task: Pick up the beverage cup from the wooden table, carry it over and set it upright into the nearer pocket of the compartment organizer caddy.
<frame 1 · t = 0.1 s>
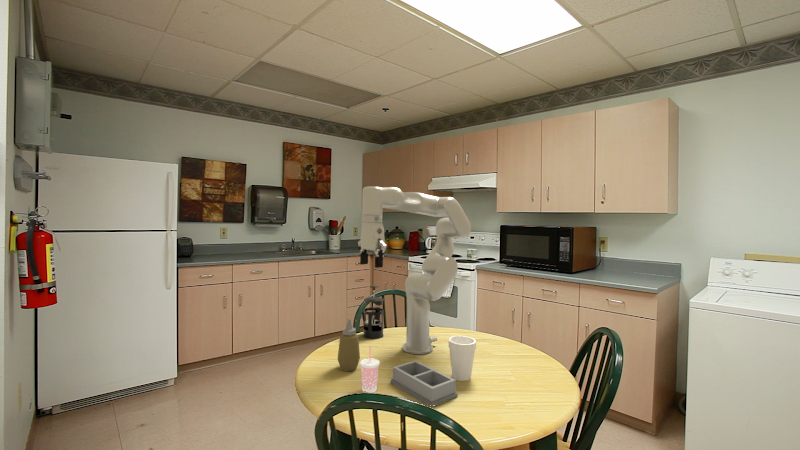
hand: (371, 265, 142), 37 cm above the table, tool pointing down, fingers open, 9 cm apart
squeeze bottle: (348, 368, 138), on the table
beverage cup: (369, 390, 122), on the table
compartment organizer caddy: (422, 389, 122), on the table
french press: (373, 335, 175), on the table
foam cup: (461, 377, 132), on the table
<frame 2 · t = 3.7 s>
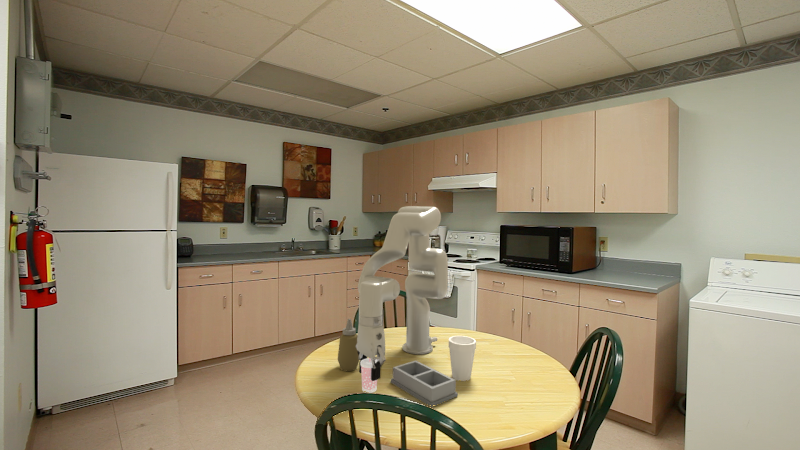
hand: (369, 375, 121), 5 cm above the table, tool pointing down, fingers closed on beverage cup, 6 cm apart
beverage cup: (369, 390, 122), on the table, touching gripper
everything else where it was.
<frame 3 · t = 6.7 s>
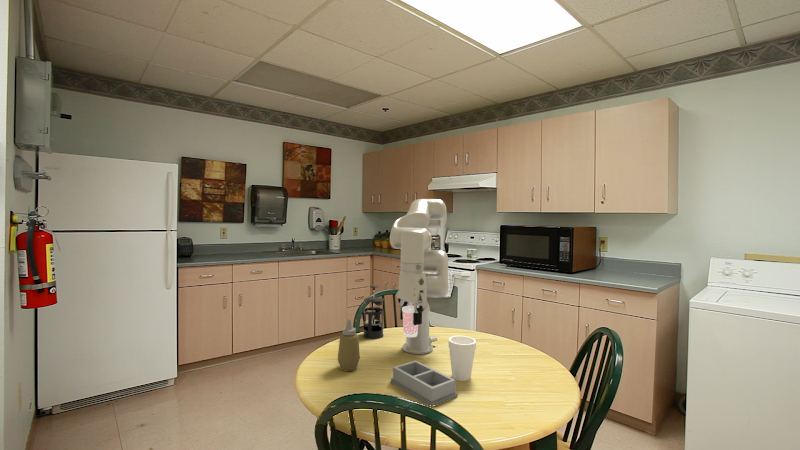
hand: (410, 321, 125), 21 cm above the table, tool pointing down, fingers closed on beverage cup, 6 cm apart
beverage cup: (410, 335, 125), point 16 cm above the table, touching gripper
everything else where it was.
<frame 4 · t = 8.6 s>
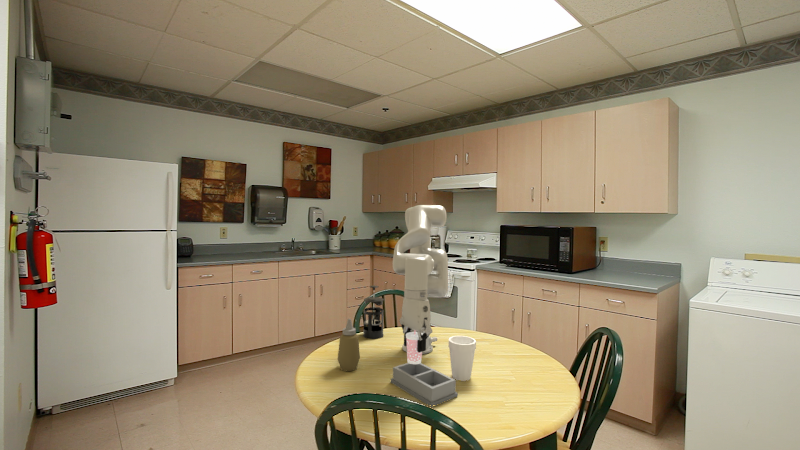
hand: (414, 347, 125), 12 cm above the table, tool pointing down, fingers closed on beverage cup, 6 cm apart
beverage cup: (414, 362, 126), point 7 cm above the table, touching gripper
everything else where it was.
when the fingers open (7 cm above the table, at t = 10.1 s): beverage cup drops 1 cm, resting on compartment organizer caddy.
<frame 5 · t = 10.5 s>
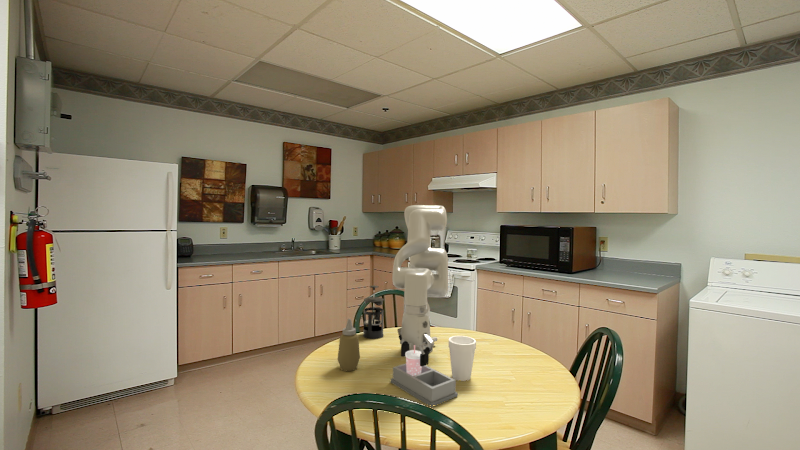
hand: (414, 360, 126), 8 cm above the table, tool pointing down, fingers open, 9 cm apart
beverage cup: (413, 380, 126), point 1 cm above the table, touching compartment organizer caddy
everything else where it was.
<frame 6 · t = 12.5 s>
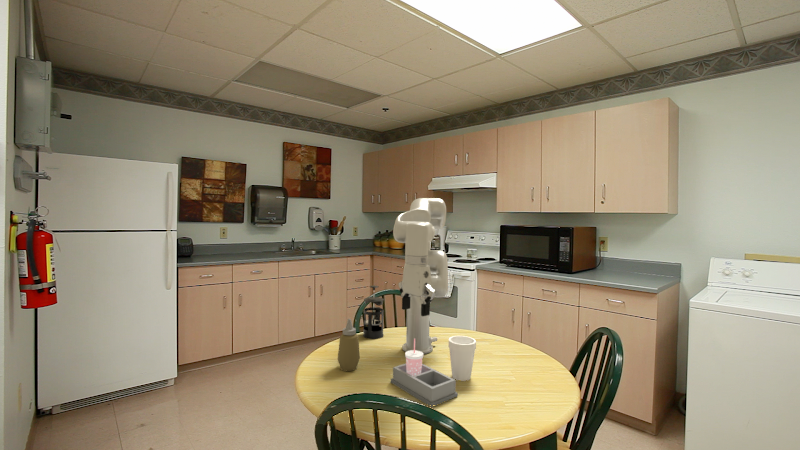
hand: (415, 312, 125), 24 cm above the table, tool pointing down, fingers open, 9 cm apart
nothing on the table moved.
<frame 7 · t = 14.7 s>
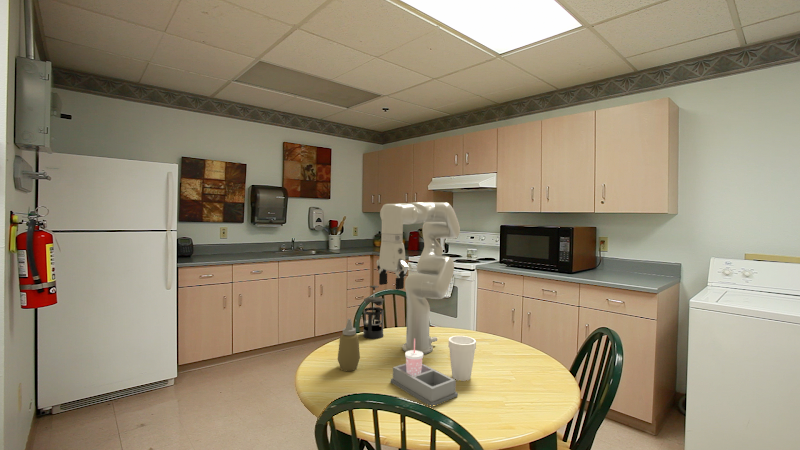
hand: (391, 286, 135), 30 cm above the table, tool pointing down, fingers open, 9 cm apart
nothing on the table moved.
at the end: beverage cup 0.3 cm from the target spot on the compartment organizer caddy, point 1.0 cm above the compartment organizer caddy's base; beverage cup tilted 0°; the gripper is holding nothing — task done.
